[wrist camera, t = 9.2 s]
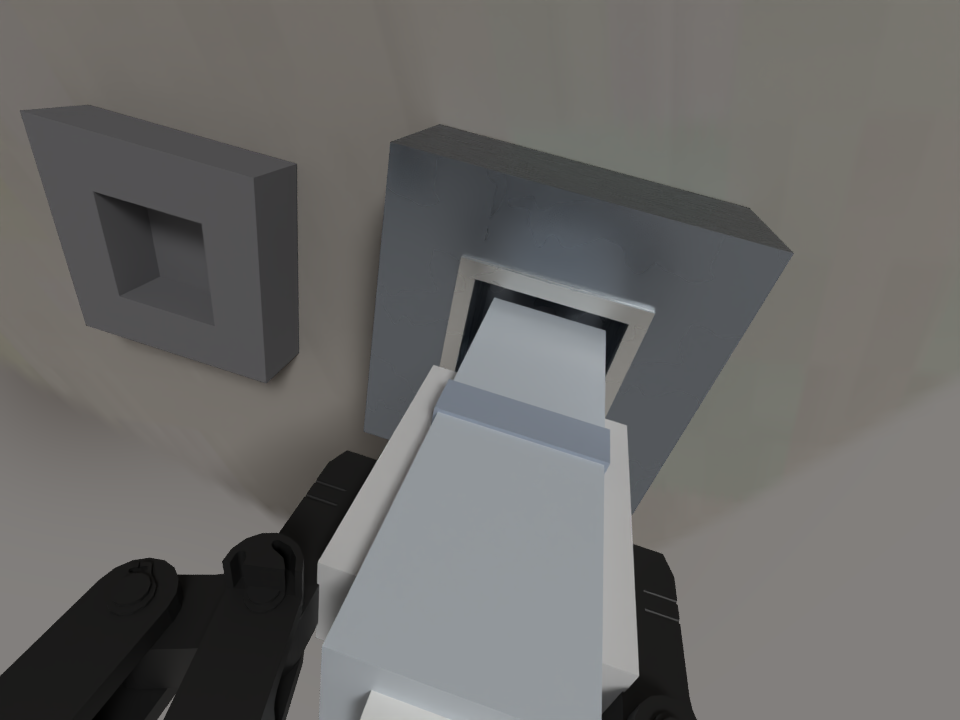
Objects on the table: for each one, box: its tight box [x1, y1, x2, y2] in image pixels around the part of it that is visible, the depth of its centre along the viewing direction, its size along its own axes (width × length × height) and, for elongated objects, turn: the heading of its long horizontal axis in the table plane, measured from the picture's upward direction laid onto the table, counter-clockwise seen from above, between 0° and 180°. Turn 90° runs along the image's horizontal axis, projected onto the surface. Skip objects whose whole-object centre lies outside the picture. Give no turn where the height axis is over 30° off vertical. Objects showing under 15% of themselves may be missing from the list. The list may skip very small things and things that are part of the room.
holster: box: [20, 105, 299, 383], centre depth 22 cm, size 10×10×3 cm
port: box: [364, 124, 794, 516], centre depth 19 cm, size 12×12×6 cm
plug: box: [319, 297, 610, 720], centre depth 12 cm, size 4×4×13 cm
